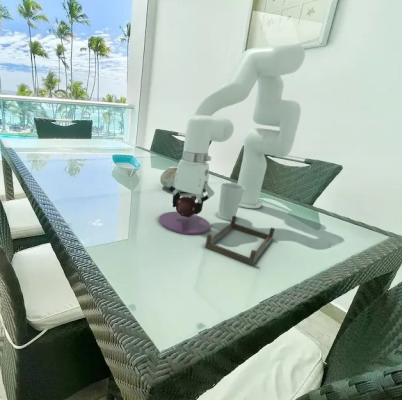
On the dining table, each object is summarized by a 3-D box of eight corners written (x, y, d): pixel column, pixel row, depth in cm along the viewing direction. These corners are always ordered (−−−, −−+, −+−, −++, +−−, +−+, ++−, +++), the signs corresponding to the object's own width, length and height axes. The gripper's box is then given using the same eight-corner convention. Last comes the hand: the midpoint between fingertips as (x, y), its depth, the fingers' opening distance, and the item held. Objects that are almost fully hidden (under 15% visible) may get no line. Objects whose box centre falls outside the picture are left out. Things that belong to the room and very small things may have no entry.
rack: (230, 226, 94) (233, 215, 92) (272, 239, 86) (275, 228, 85) (204, 247, 78) (207, 234, 77) (252, 266, 70) (255, 252, 69)
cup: (241, 217, 102) (248, 187, 98) (232, 223, 96) (239, 190, 92) (220, 211, 107) (227, 181, 103) (211, 215, 101) (217, 185, 97)
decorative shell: (170, 196, 120) (173, 174, 117) (152, 184, 135) (155, 164, 132) (204, 194, 126) (207, 173, 123) (183, 183, 142) (186, 164, 139)
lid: (175, 210, 104) (175, 208, 104) (217, 224, 94) (218, 222, 94) (149, 222, 92) (149, 220, 91) (195, 240, 82) (195, 237, 81)
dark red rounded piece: (193, 207, 82) (206, 198, 95) (172, 196, 85) (187, 189, 97) (184, 226, 84) (197, 215, 97) (164, 215, 87) (179, 206, 100)
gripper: (226, 161, 83) (215, 214, 89) (176, 151, 93) (169, 200, 99) (216, 164, 77) (205, 220, 83) (164, 153, 88) (158, 204, 93)
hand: (186, 209), depth 91 cm, fingers closed on dark red rounded piece, 7 cm apart
